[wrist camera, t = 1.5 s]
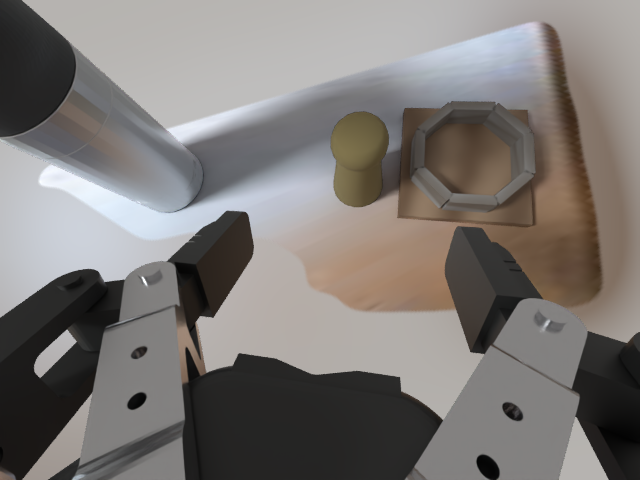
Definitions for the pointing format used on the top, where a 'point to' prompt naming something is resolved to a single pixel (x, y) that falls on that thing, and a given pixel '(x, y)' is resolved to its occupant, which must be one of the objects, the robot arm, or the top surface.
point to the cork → (359, 158)
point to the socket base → (467, 164)
